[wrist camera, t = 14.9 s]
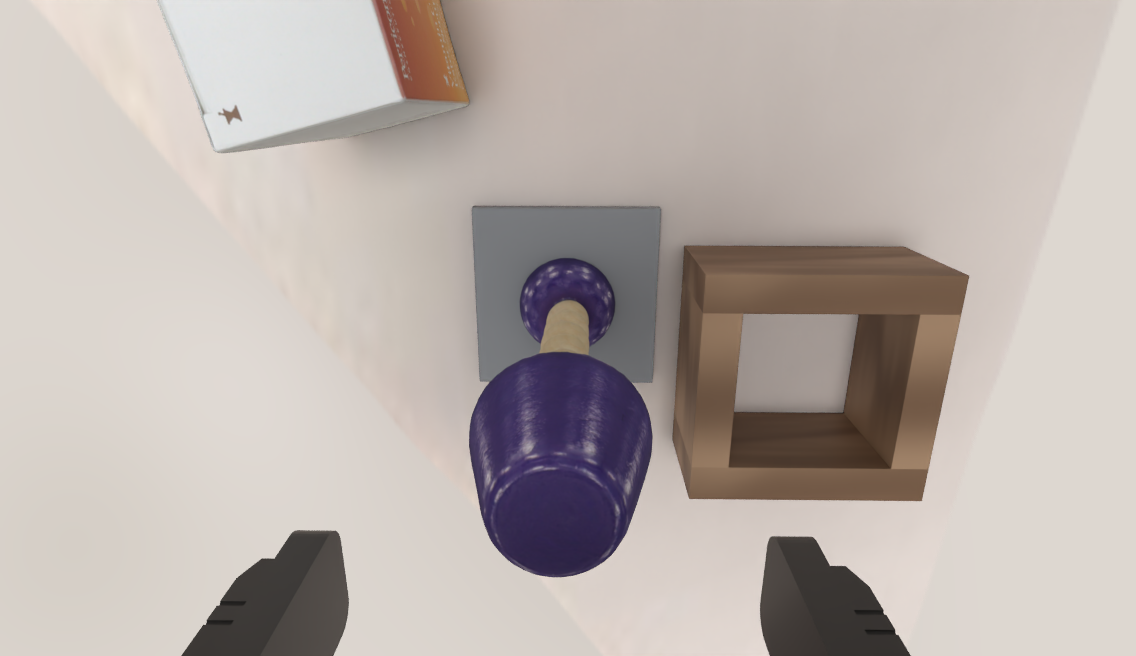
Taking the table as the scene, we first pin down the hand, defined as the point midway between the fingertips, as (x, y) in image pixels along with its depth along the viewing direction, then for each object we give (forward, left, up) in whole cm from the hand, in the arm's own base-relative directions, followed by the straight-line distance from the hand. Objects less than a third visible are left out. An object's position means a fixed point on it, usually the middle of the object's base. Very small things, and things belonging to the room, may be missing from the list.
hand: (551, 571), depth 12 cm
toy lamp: (0, 0, -18) cm, 18 cm away
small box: (-11, -8, -18) cm, 23 cm away
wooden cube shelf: (+3, +10, -18) cm, 21 cm away
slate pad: (0, 0, -18) cm, 18 cm away
